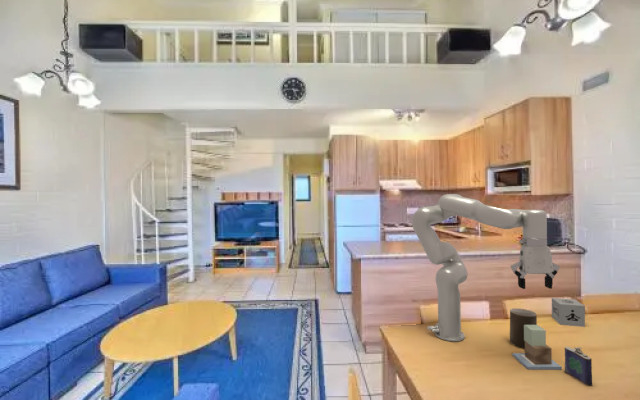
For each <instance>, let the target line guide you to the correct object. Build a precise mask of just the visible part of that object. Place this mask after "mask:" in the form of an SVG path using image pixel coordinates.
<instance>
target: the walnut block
mask: <svg viewBox="0 0 640 400" xmlns="http://www.w3.org/2000/svg"><path fill="white" fill-rule="evenodd" d="M552 351H553V350H552V347H550V346H549V345H547V344H546V346H531V345H530V344H528V343H527V342H526V341H525V349H524V353H525V357H526V358H528V359H529V360H530V361H531V362H532V363H534V364H535V365H552V360H553V359H552V353H553V352H552Z"/></svg>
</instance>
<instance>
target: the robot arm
mask: <svg viewBox="0 0 640 400" xmlns="http://www.w3.org/2000/svg"><path fill="white" fill-rule="evenodd" d="M453 216H459V217H462V218H466V219H470V220H472V221H475V222H477V223H480V224H483V225H487V226H490V227H494V228H497V229H502V230H511V229H516V228H522V239H519V243H520V244H522V245H521V246H520V250H519V257H518V258H519V259H518V261H517V262H515V263H513V264H511V265H510V268H511V270H512V272H513V274H514V275H515V276H516V277H517V285H518V287H519V288H520V289H521V290H525V289H526V278H525V277H526V275H527V274H529V275H545V276H544V287H545V288H547V289H550V290H552V289H553V281H554V280H553V279H554V278H555V276H556V275H557V274H558V271H559V269H560V268H561V267H560V265H559V264H556V263H554V262H553V256H552V252H551V247H550V246H548V240H547V239H548V235H547V234H548V230H547V229H548V226H547V225H548V224H547V222H548V219H547V218H548V215H547V211H545V210H543V209H520V208H508V209H506V208H505V209H504V208H499V207H495V206H491V205H487V204H484V203H482V202H481V201H480V200H478V199H474V198H469V197H466V196H465V197H464V196H463V195H460V194H458V193H447V194H444V195H442V196H441V197H440V198H439V200H438V203H437V204H435V205H433V206H430V205H429V206H424V207H420V208H418V209H417V210H416V211H415V212H414V213H413V216H412V217H411V226H412V228H413V231H414V234H416V237H417V238H418V240H419V242H420V244H421V246H422V248H423V251H424V253H425V254H426V256H427V259H428V260H429V262H431V264H433V265H436V266H437V265H438V266H439V265H442V266H441V267H440V268H439V269H438V270H437V271H436V273H435V283H436V289H437V319H438V320H437V322H435V324H434V325H427V327H426V328H427V330H428V331H431V332H432V333H434V335H435V336H436V337H437V338H438V339H441V340H443V341H447V342H461V341H463V340H465V336H466V335H465V333H464V332H463V331H462V330H461V329H462V324H461V323H462V322H461V321H462V319H461V317H462V316H461V315H462V314H461V311H462V310H461V307H462V306H461V294H460V289H459V285H460V284H462V283H464V282H465V281H466V280H467V278H468V275H469V274H468V270H467V267H466V266H465V263H464V261H463V260H462V258H461V256H460V254H459V252H458V251H457V249H456V248H455V246H454V245H453V244H451V243H449V242H446V241H443V242H442V241H441V239H440V237H439V236H438V234H437V232H436V231H435V229H433V228H432V226H431V225H434V224H440V223H442V222H444V221H446V220H448V219H451V217H453ZM518 268H519V270H518Z"/></svg>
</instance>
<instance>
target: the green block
mask: <svg viewBox="0 0 640 400" xmlns="http://www.w3.org/2000/svg"><path fill="white" fill-rule="evenodd" d="M546 330H547V329H544V328H543V327H541V326H540V325H538V324H537V325H524V340H525V341H526V342H527V343H528V344H530V345H531V346H546V345H547V341H546V340H547V337H546V336H547V335H546V332H547V331H546Z"/></svg>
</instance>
